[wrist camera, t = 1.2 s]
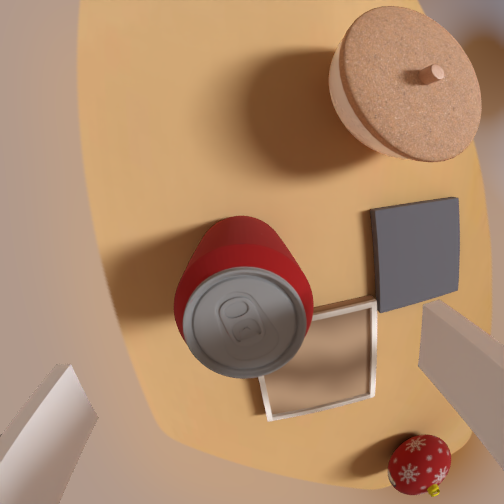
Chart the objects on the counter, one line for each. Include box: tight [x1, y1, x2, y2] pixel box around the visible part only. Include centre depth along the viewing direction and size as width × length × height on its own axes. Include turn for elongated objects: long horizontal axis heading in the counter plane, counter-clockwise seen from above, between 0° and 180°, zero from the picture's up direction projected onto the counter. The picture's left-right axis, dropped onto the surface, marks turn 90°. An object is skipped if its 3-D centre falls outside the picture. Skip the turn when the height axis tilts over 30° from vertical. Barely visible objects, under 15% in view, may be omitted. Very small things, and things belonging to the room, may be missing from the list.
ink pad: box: [370, 197, 460, 313], centre depth 25 cm, size 9×9×1 cm
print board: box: [258, 295, 377, 421], centre depth 27 cm, size 11×11×1 cm
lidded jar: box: [329, 6, 481, 162], centre depth 17 cm, size 11×11×9 cm
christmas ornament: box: [388, 435, 451, 497], centre depth 27 cm, size 9×9×10 cm
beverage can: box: [174, 216, 314, 378], centre depth 19 cm, size 7×7×12 cm
